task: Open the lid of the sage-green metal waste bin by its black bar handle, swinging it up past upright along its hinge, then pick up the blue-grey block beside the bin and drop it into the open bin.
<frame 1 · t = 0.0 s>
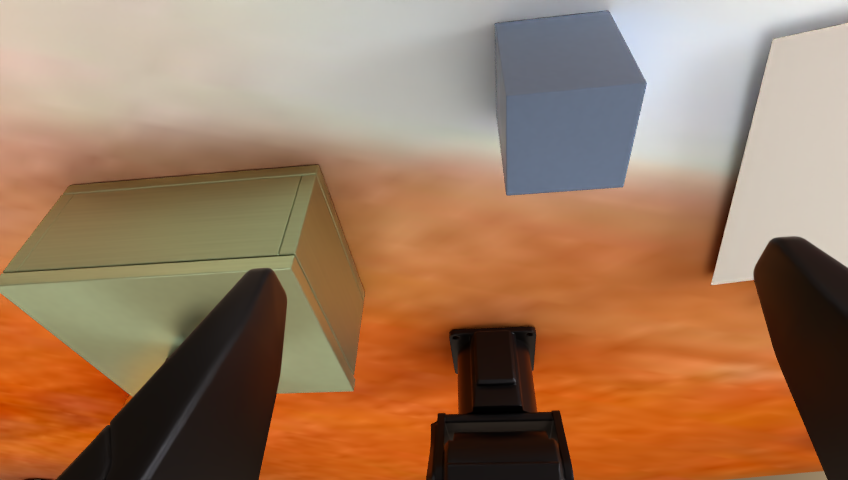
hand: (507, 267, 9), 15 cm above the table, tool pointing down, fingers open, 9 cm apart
waste bin: (233, 244, 31), on the table
blue-grey block: (547, 68, 22), on the table
bin lid: (187, 369, 26), point 9 cm above the table, hinge at 0.0°
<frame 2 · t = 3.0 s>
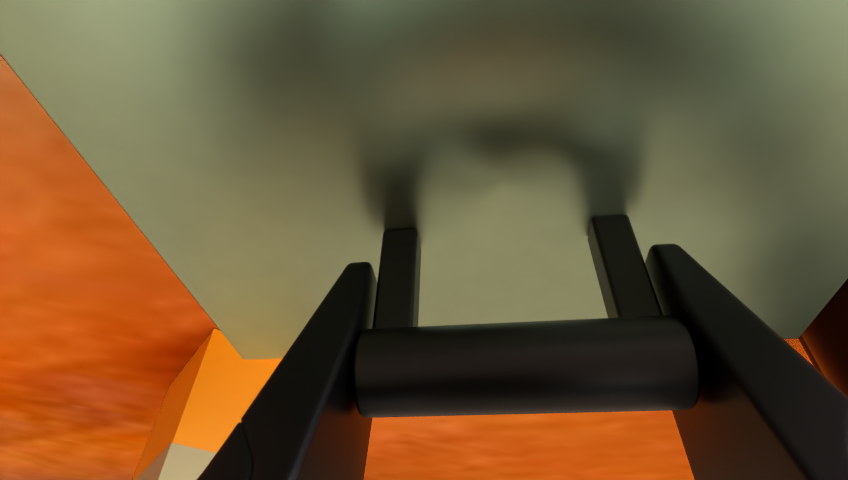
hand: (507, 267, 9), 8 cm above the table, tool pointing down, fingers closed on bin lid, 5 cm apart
orange juice: (250, 375, 31), on the table
bin lid: (508, 237, 8), point 9 cm above the table, hinge at 0.0°, touching gripper
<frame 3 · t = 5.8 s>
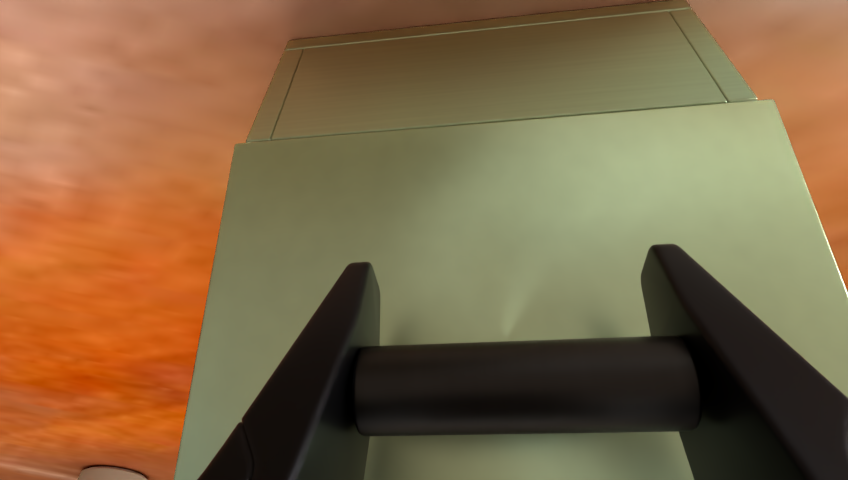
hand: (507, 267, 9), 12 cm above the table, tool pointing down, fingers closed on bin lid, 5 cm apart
waste bin: (482, 144, 23), on the table
travel mug: (117, 472, 65), on the table
bin lid: (507, 323, 10), point 13 cm above the table, hinge at 73.5°, touching gripper
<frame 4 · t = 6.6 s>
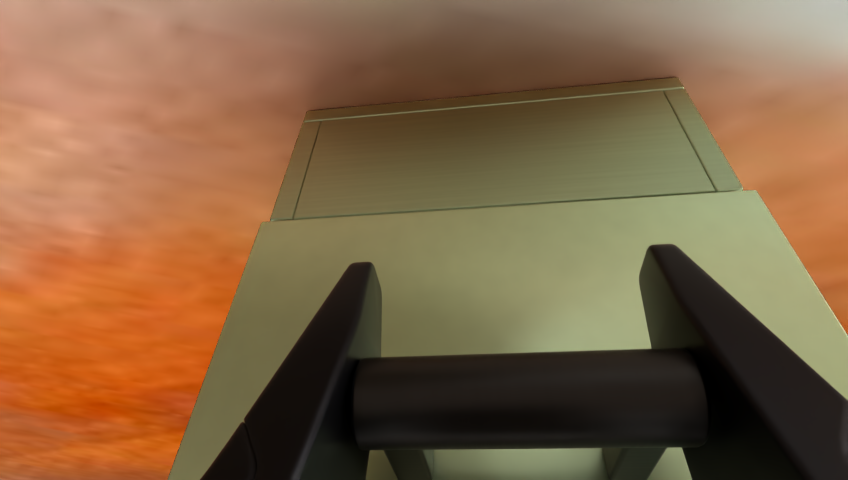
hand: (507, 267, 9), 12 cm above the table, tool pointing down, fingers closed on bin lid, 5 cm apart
waste bin: (488, 200, 24), on the table
bin lid: (511, 365, 10), point 13 cm above the table, hinge at 90.8°, touching gripper
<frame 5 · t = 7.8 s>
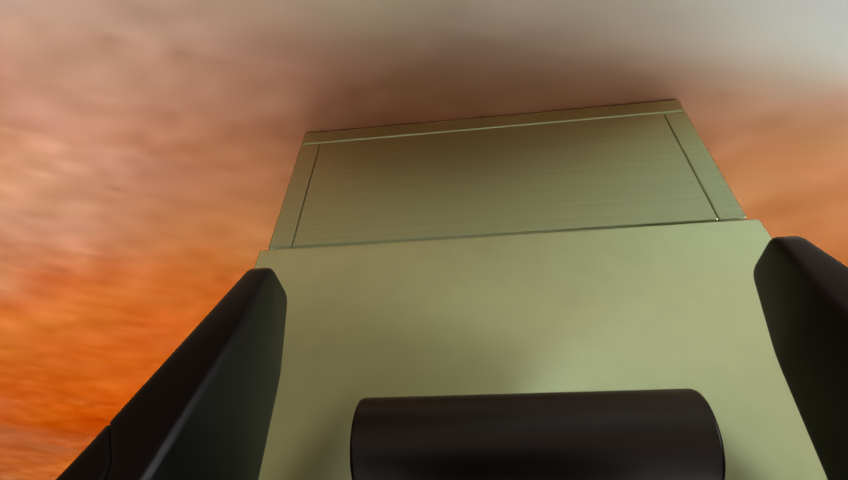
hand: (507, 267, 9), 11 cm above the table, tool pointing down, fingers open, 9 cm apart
waste bin: (488, 219, 24), on the table
bin lid: (515, 402, 9), point 13 cm above the table, hinge at 92.9°
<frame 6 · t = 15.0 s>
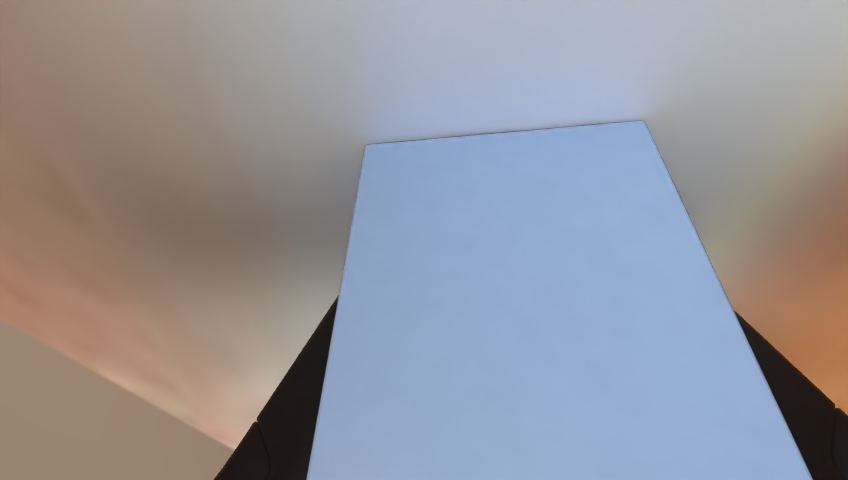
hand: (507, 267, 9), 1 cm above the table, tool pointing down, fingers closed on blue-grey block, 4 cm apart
blue-grey block: (501, 227, 10), on the table, touching gripper
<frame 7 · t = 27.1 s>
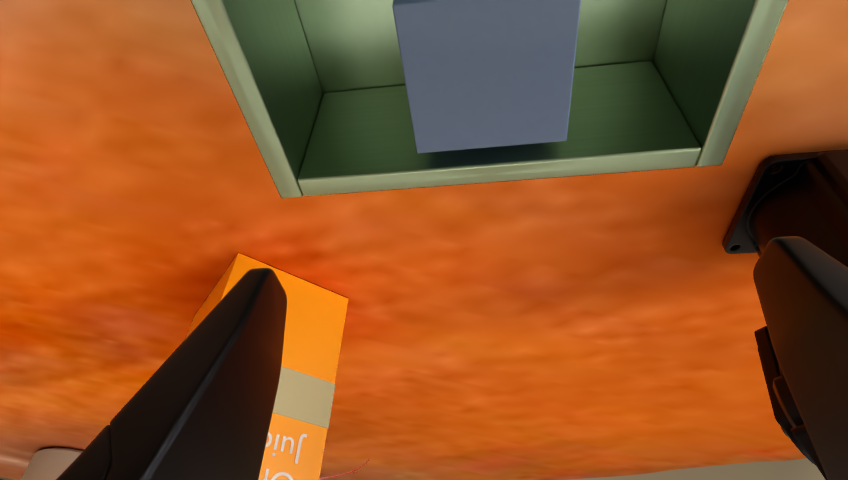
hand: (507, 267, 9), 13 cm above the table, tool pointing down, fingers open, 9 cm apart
orange juice: (268, 305, 34), on the table
travel mug: (75, 456, 58), on the table
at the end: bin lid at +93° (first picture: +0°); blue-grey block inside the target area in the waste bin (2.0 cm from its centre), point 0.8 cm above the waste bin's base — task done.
